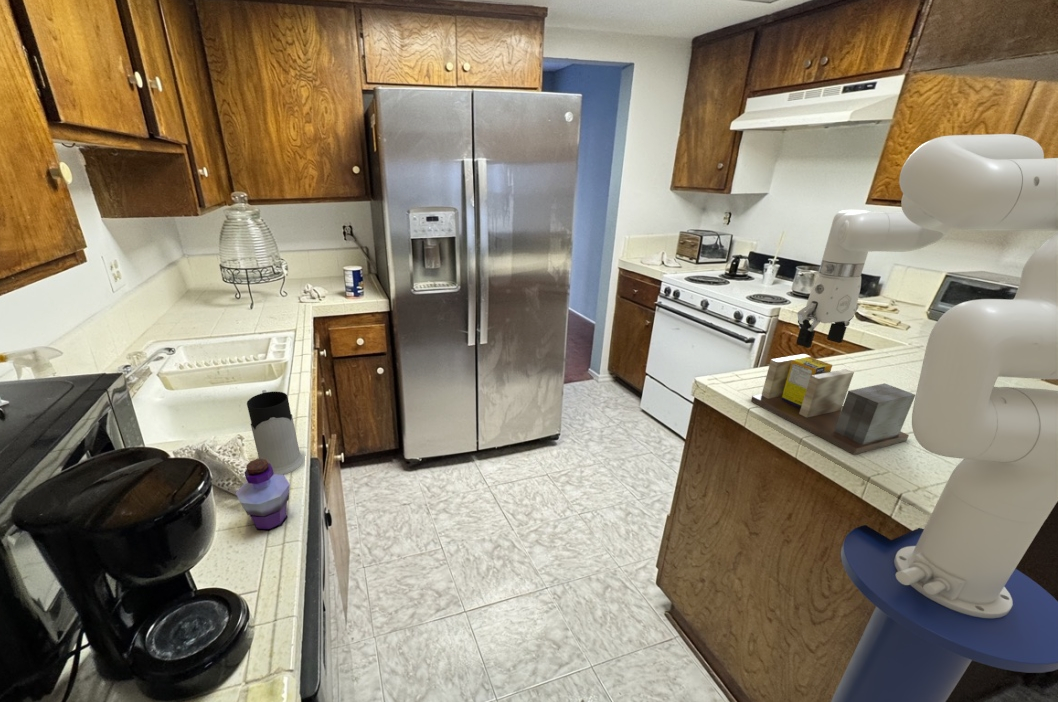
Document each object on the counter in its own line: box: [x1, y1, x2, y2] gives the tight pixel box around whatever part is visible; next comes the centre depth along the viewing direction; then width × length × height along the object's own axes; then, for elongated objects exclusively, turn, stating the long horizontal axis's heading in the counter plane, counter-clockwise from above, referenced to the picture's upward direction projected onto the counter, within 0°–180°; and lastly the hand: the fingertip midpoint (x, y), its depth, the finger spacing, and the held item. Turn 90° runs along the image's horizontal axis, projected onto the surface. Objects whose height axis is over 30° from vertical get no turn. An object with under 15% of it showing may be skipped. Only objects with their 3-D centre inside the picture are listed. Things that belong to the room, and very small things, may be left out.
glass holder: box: [246, 389, 304, 475], centre depth 97 cm, size 9×14×15 cm, turn 28°
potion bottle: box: [235, 458, 291, 532], centre depth 80 cm, size 9×9×12 cm
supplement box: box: [781, 356, 833, 408], centre depth 114 cm, size 6×6×11 cm
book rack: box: [750, 353, 916, 455], centre depth 109 cm, size 16×26×12 cm, turn 18°
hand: (818, 343), depth 109 cm, fingers open, 9 cm apart
